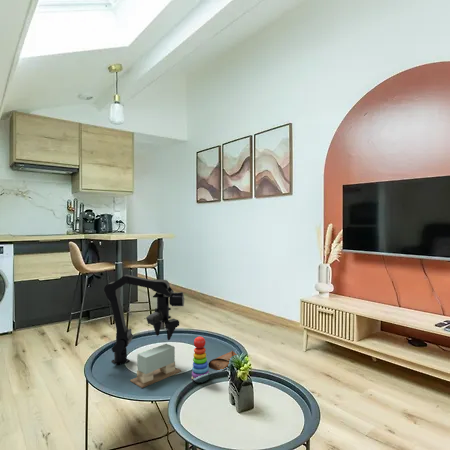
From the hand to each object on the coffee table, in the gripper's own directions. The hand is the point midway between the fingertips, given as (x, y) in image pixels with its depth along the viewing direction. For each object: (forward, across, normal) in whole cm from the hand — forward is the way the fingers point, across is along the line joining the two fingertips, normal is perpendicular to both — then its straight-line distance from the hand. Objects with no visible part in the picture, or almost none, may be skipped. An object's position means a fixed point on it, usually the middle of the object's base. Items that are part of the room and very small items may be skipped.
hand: (163, 337), depth 162 cm
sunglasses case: (+13, +24, +20) cm, 34 cm away
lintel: (+7, +10, -11) cm, 17 cm away
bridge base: (+12, +10, -11) cm, 19 cm away
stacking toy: (+12, +27, 0) cm, 30 cm away
